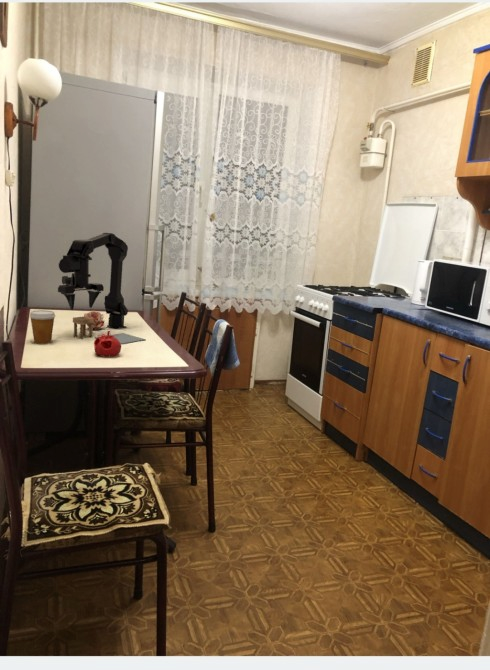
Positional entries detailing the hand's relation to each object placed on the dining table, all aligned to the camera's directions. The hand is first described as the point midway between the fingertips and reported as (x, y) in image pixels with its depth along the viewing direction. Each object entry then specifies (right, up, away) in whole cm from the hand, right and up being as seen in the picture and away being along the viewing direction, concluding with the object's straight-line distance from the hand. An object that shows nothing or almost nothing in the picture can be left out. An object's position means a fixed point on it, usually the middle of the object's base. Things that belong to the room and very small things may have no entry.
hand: (81, 308), depth 213 cm
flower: (0, -9, +18) cm, 20 cm away
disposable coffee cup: (-12, -14, -11) cm, 21 cm away
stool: (0, -12, +2) cm, 12 cm away
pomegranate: (+17, -19, -22) cm, 34 cm away
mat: (+16, -13, +3) cm, 20 cm away
